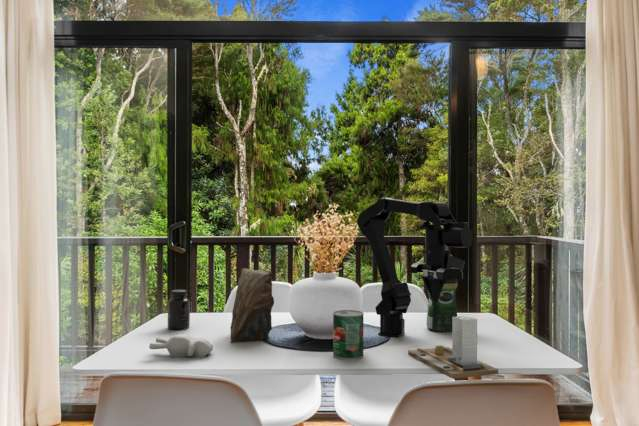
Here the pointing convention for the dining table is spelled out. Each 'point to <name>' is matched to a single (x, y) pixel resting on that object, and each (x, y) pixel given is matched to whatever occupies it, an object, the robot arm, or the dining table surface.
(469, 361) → the grey rectangular block
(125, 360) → the dining table surface
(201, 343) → the bunny figurine
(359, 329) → the canned tomato
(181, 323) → the supplement bottle
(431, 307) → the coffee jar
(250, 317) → the tall brown stone
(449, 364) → the trammel board
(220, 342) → the dining table surface
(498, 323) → the dining table surface
